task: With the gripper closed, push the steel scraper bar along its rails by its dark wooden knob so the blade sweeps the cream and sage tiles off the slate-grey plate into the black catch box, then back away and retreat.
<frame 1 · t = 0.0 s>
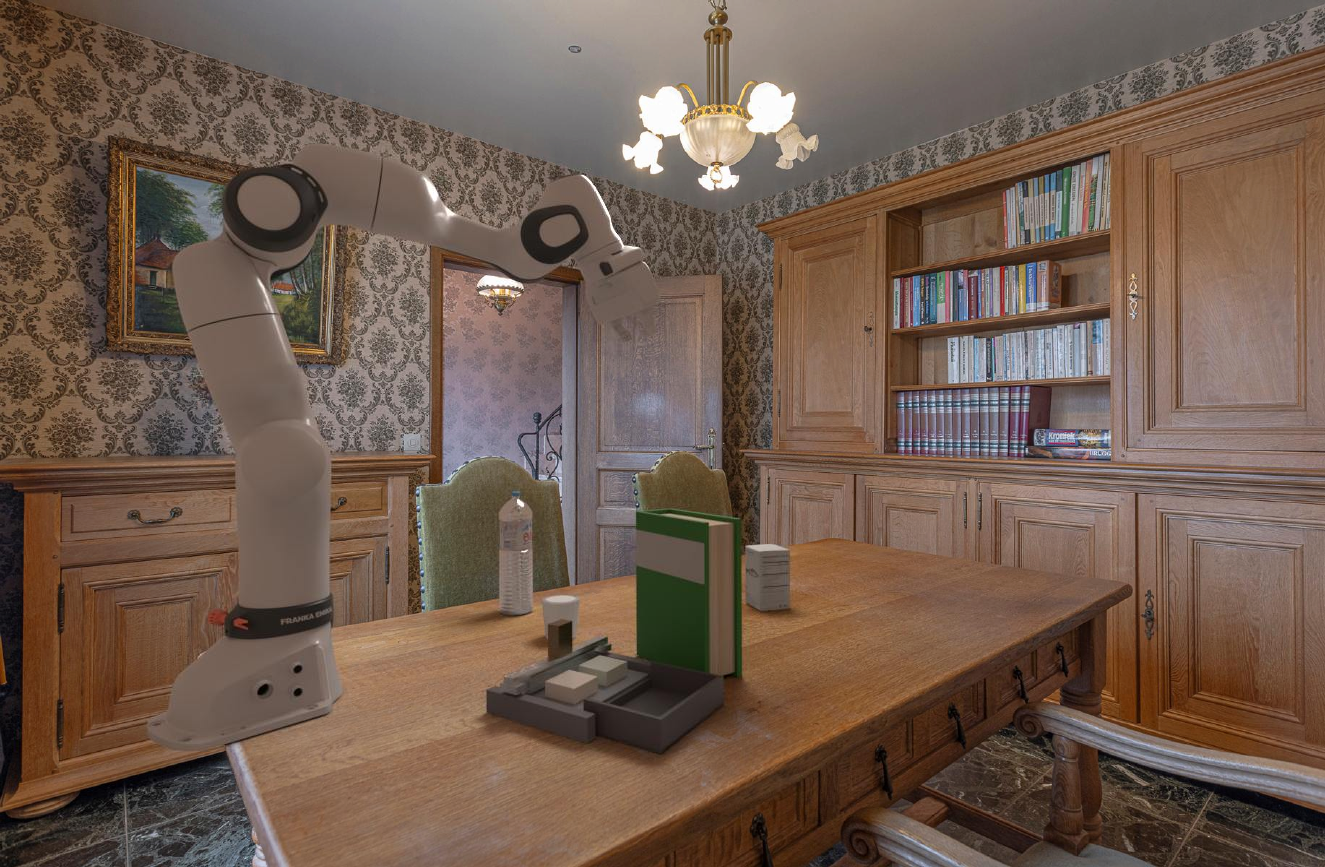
hand: (639, 338, 120), 54 cm above the table, tool tilted 30°, fingers open, 8 cm apart
water bottle: (516, 612, 137), on the table
shot glass: (561, 637, 120), on the table
catch box: (654, 717, 86), on the table
hardback book: (686, 666, 105), on the table
dark plate: (582, 698, 92), on the table
supplement box: (767, 606, 141), on the table
scraper bar: (560, 649, 94), point 6 cm above the table, slide at 0.0 cm
sage tile: (603, 677, 95), point 2 cm above the table, touching dark plate
cream tile: (571, 693, 89), point 2 cm above the table, touching dark plate
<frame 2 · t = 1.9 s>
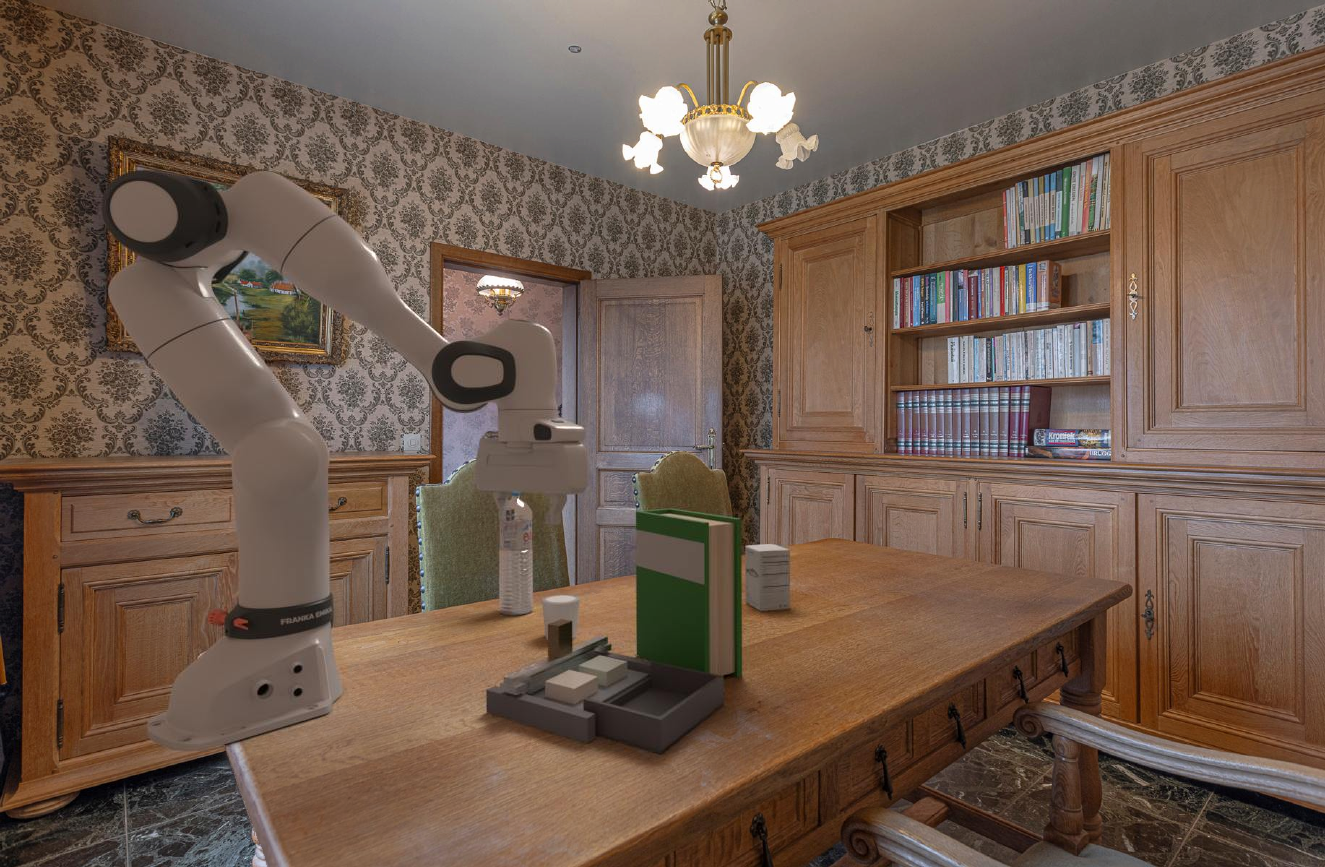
hand: (529, 522, 98), 24 cm above the table, tool pointing down, fingers open, 8 cm apart
nothing on the table moved.
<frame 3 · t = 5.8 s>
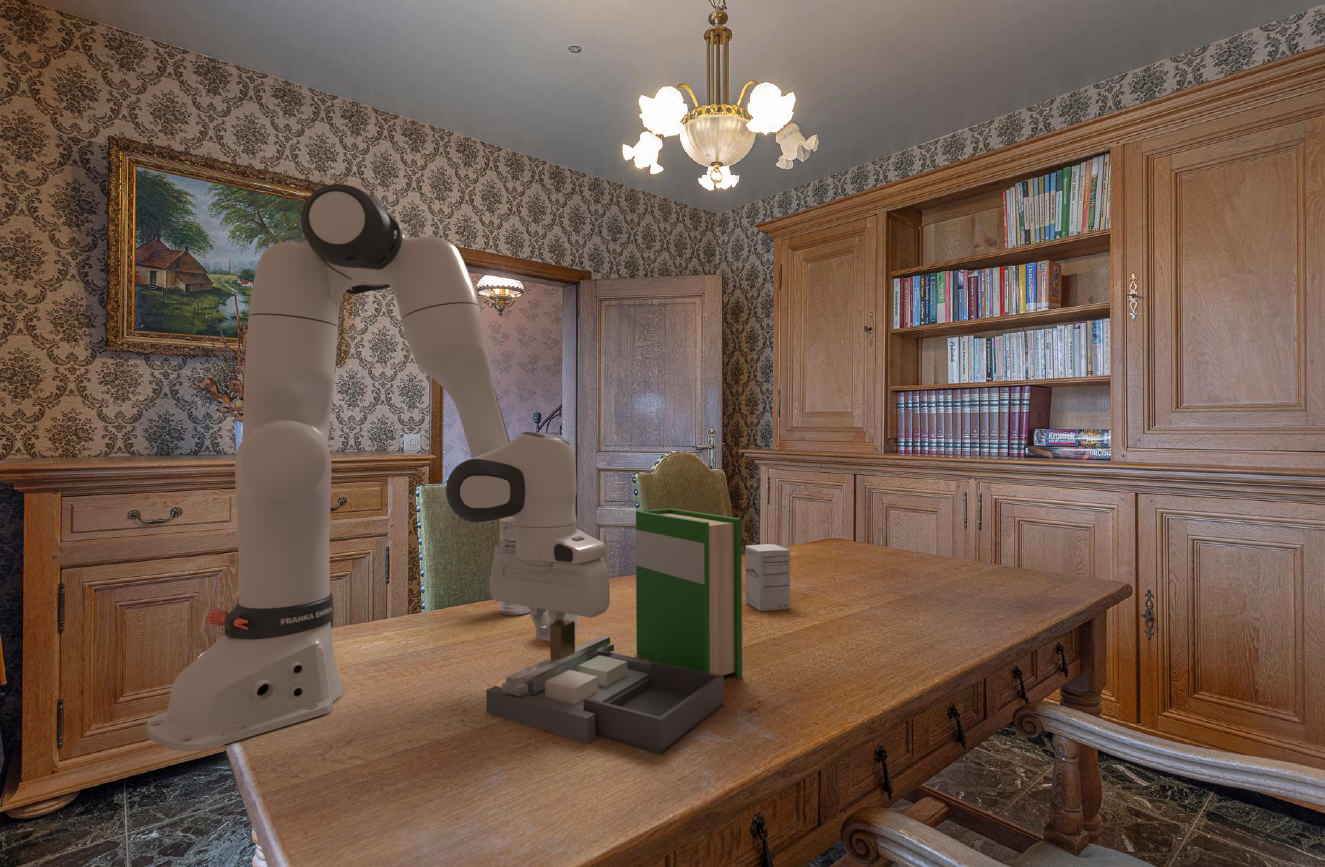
hand: (547, 638, 96), 7 cm above the table, tool pointing down, fingers closed
scraper bar: (562, 649, 94), point 6 cm above the table, slide at 0.5 cm, touching gripper
everything else where it was.
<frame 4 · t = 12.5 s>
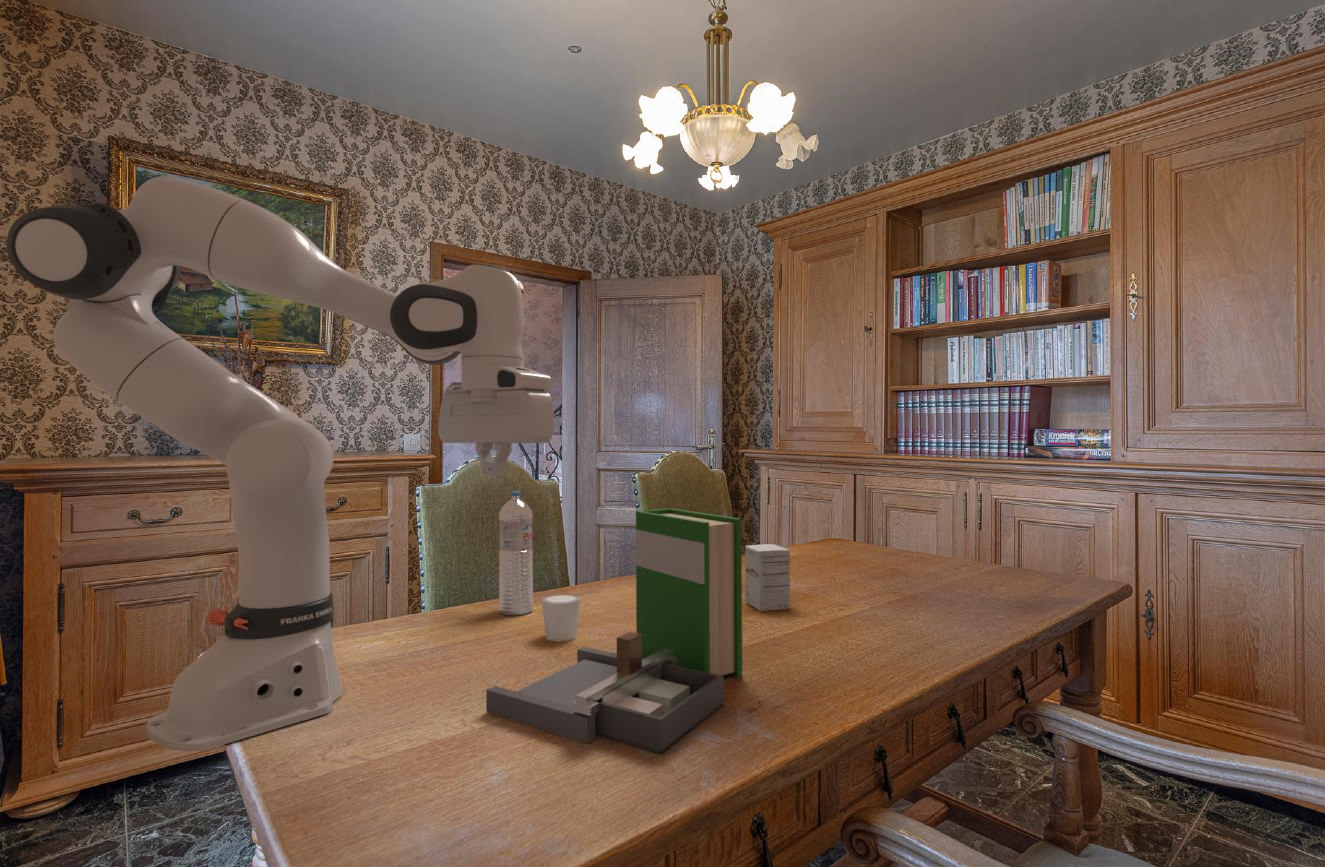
hand: (493, 474, 96), 31 cm above the table, tool pointing down, fingers closed
scraper bar: (629, 664, 88), point 6 cm above the table, slide at 12.0 cm, touching cream tile
sage tile: (664, 703, 89), resting on catch box
cream tile: (635, 722, 83), resting on catch box, touching scraper bar
everything else where it was.
at the end: cream tile inside the target area (3.5 cm from its centre), resting on catch box; sage tile inside the target area (3.6 cm from its centre), resting on catch box; scraper bar slide at 12.0 cm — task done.
